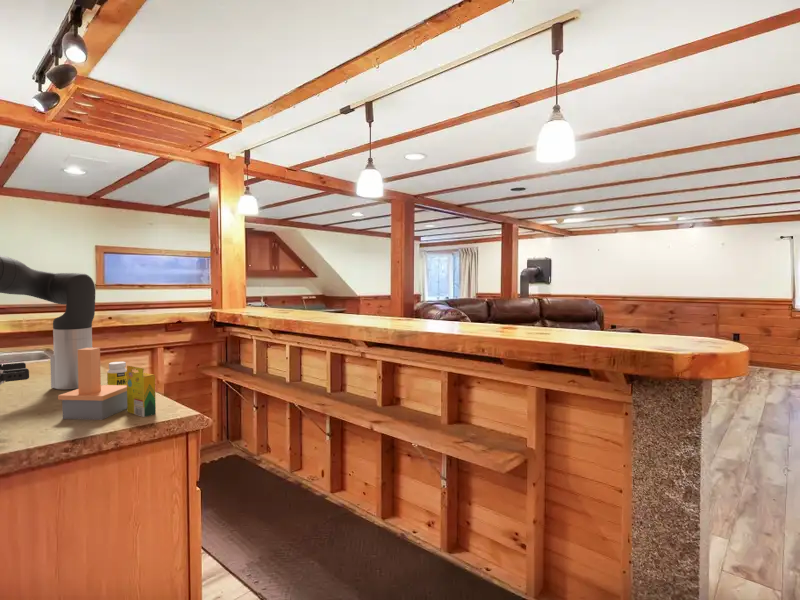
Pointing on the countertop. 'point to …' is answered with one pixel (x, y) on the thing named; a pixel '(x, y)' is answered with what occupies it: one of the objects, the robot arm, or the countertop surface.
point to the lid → (91, 379)
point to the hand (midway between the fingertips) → (27, 370)
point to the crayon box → (140, 392)
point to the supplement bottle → (117, 373)
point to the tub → (94, 407)
